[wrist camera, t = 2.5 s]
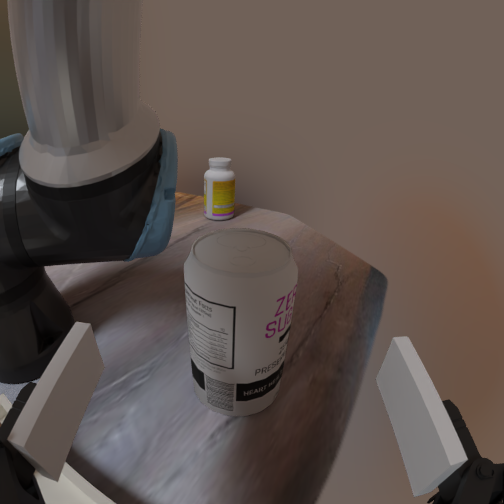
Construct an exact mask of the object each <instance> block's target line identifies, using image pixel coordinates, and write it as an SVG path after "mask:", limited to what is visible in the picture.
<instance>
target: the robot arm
mask: <svg viewBox="0 0 504 504" xmlns="http://www.w3.org/2000/svg"><path fill="white" fill-rule="evenodd" d="M7 1H8V15H9V26H10V35H11V43H12V50H13V56H14V63H15V69H16V74H17V79H18V84H19V89H20V94H21V98H22V103H23V107H24V111H25V115H26V119H27V123H28V126H29V130H28V132H27V134H26V135H25V138H23V135H22V134H14V135H11V136H8V137H5V138H2V139H0V382H2V383H10V384H14V383H22V382H27V381H30V380H33V379H36V378H38V377H40V376H41V378H40V380H39V381H38V383H37V384H36V383H33V382H29V383H28V384H27V385H26V386H25V387H24V388H22V389H21V391H20V393H19V394H18V396H17V398H16V401H14V403H13V405H12V408H10V410H9V412H8V414H7V416H6V417H5V419H4V421H3V423H2V425H1V427H0V504H46V503H45V501H44V498H43V496H42V493H41V491H40V488H39V485H38V482H37V480H36V478H35V476H34V472H35V469H36V470H37V471H38V472H39V473H40V474H41V475H42V476H44V477H46V478H48V479H51V480H53V481H56V482H58V481H59V478H60V475H61V472H62V469H63V467H64V464H65V461H66V458H67V456H68V453H69V450H70V448H71V445H72V443H73V440H74V438H75V435H76V433H77V430H78V428H79V425H80V423H81V420H82V418H83V416H84V413H85V411H86V408H87V406H88V404H89V401H90V399H91V397H92V395H93V392H94V390H95V388H96V386H97V383H98V381H99V379H100V377H101V374H102V372H103V370H104V368H105V367H104V364H103V361H102V358H101V355H100V352H99V349H98V346H97V343H96V340H95V337H94V333H93V330H92V327H91V324H89V323H83V322H76V323H75V322H74V319H73V316H72V313H71V310H70V308H69V306H68V304H67V302H66V301H65V300H64V298H63V297H62V295H61V294H60V293H59V291H58V290H57V288H56V287H55V285H54V284H53V282H52V281H51V279H50V278H49V276H48V275H47V273H46V271H45V268H44V266H53V265H65V264H78V263H94V262H109V261H128V262H129V261H131V260H133V259H135V258H143V257H150V256H155V255H158V254H159V253H161V252H162V251H163V250H164V249H165V248H166V246H167V245H168V243H169V240H170V237H171V232H172V227H173V220H174V212H175V194H174V193H175V191H176V183H177V162H178V159H177V144H176V138H175V135H174V134H173V133H172V132H170V131H165V130H163V129H160V123H159V118H158V116H157V114H156V112H155V111H154V109H152V107H150V106H149V105H148V104H147V103H145V102H143V101H142V100H140V86H139V85H140V79H139V78H140V37H141V17H142V3H143V0H7ZM376 382H377V385H378V388H379V391H380V393H381V396H382V399H383V402H384V404H385V407H386V410H387V413H388V416H389V419H390V422H391V425H392V428H393V430H394V434H395V437H396V440H397V443H398V446H399V449H400V452H401V455H402V458H403V462H404V465H405V468H406V472H407V475H408V478H409V481H410V485H411V489H412V492H413V496H414V497H417V496H420V495H423V494H427V493H430V492H431V491H432V490H434V489H435V488H436V487H437V486H438V488H439V492H438V493H437V494H435V495H434V496H433V497H431V498H430V499H429V501H428V502H427V503H430V502H432V501H433V500H434V502H433V504H504V463H503V464H493V462H492V461H491V460H489V459H487V458H482V457H481V456H480V454H479V452H478V450H477V448H476V446H475V443H474V441H473V439H472V437H471V435H470V432H469V430H468V428H467V427H466V424H465V422H464V420H463V419H462V416H461V414H460V412H459V409H458V408H457V407H456V406H455V405H454V404H453V403H452V402H451V401H450V400H445V401H441V399H440V397H439V395H438V393H437V391H436V389H435V387H434V385H433V383H432V381H431V379H430V377H429V375H428V373H427V371H426V369H425V367H424V366H423V364H422V362H421V360H420V358H419V356H418V354H417V353H416V351H415V349H414V347H413V345H412V343H411V341H410V340H409V338H408V337H393V339H392V342H391V344H390V347H389V349H388V352H387V354H386V357H385V359H384V361H383V364H382V366H381V368H380V371H379V373H378V375H377V377H376ZM502 500H503V503H502Z"/></svg>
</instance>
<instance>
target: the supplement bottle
mask: <svg viewBox="0 0 504 504" xmlns="http://www.w3.org/2000/svg"><path fill="white" fill-rule="evenodd" d="M209 166H210V170H208V171H207V172H205V175H204V215H205V216H206V217H207V218H209V219H212V220H227V219H230V218H232V217H233V215H234V197H235V173H234V172H233V171H231V170H230V166H231V159H229V158H210V159H209Z"/></svg>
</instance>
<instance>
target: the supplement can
mask: <svg viewBox="0 0 504 504" xmlns="http://www.w3.org/2000/svg"><path fill="white" fill-rule="evenodd" d="M184 281H185V296H186V310H187V322H188V334H189V345H190V355H191V365H192V374H193V382H194V391H195V393H196V395H197V396H198V398H199V400H200V401H201V403H203V404H204V405H205V406H207V407H208V408H209V409H211V410H212V411H214V412H217V413H220V414H223V415H227V416H248V415H251V414H255V413H258V412H261V411H262V410H264V409H265V408H266V407H268V406H269V405H271V404H272V402H273V401H274V399H275V398H276V396H277V394H278V392H279V386H280V381H281V376H282V370H283V365H284V360H285V354H286V348H287V343H288V337H289V331H290V325H291V319H292V313H293V307H294V301H295V294H296V288H297V281H298V267H297V265H296V262H295V260H294V258H293V255H292V248H291V247H290V246H289V244H288V243H287V242H286V241H285V240H283V239H281V238H280V237H278V236H276V235H273V234H271V233H268V232H265V231H260V230H254V229H246V228H230V229H221V230H216V231H213V232H209V233H206V234H204V235H202V236H201V237H199V238H197V239H196V240H195V242H194V243H193V245H192V250H191V252H190V254H189V256H188V258H187V260H186V261H185V263H184Z"/></svg>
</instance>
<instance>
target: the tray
mask: <svg viewBox="0 0 504 504" xmlns="http://www.w3.org/2000/svg"><path fill="white" fill-rule="evenodd" d="M10 408H12V404H11V402H10V401H9V400H8V399H7V397H6V396H5V395H4V393H3V394H1V395H0V422H1V424H2V423H3V421H4V419H5V417H6V416H7V414H8V412H9V410H10ZM34 476H35V478H36V480H37V482H38V485H39V488H40V491H41V493H42V496H43V498H44V501H45V503H46V504H116V503H114V502H113V501H112V500H110V499H109V498H108V497H106V496H105V495H104V494H103V493H101V492H100V491H99V490H97V489H96V488H95V487H94V486H93V485H91V484H90V483H89V482H88V481H87V480H85V479H84V478H83V477H82V476H81V475H79V474H78V473H77V472H76V471H75V470H74V469H73V468H72V467H71V466H69V465H68V464H67V463H66V462H65V464H64V467H63V469H62V472H61V475H60V478H59V481H58V482H56V481H53V480H51V479H48V478H46V477H44V476H42V475H41V474H40V473H39V472H38V471H37V470H36V469H35V472H34Z"/></svg>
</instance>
